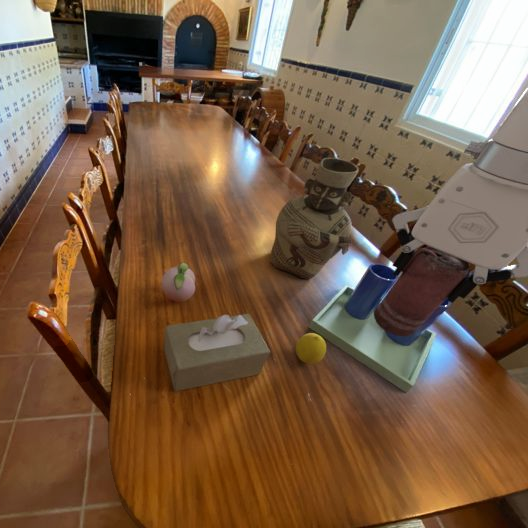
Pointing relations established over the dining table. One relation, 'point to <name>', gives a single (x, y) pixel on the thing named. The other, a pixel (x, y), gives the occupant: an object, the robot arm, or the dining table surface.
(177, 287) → the decorative fruit
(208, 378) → the tissue box
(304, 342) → the lemon
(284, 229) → the ceramic vessel
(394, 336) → the tumbler
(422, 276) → the can
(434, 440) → the dining table surface
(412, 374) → the tray
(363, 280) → the tumbler
